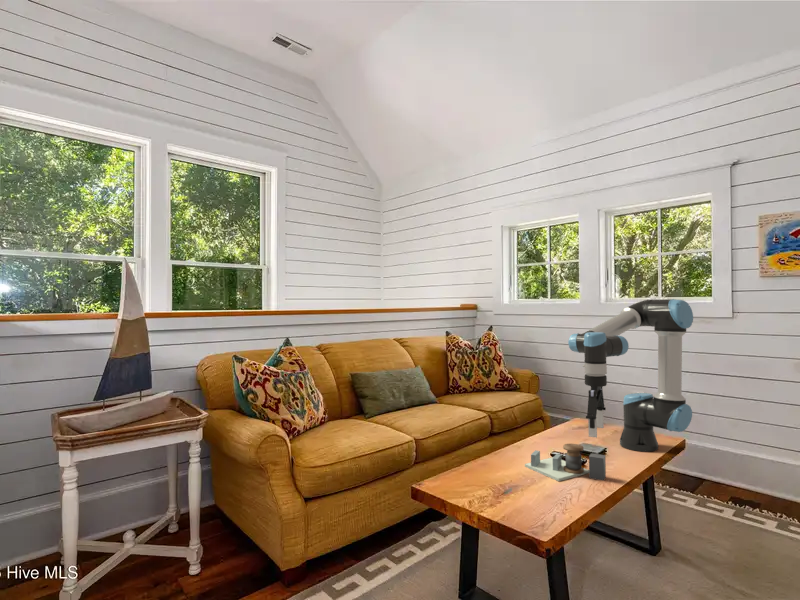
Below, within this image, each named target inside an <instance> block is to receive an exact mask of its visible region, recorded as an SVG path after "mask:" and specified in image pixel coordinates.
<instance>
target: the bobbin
mask: <svg viewBox="0 0 800 600" xmlns="http://www.w3.org/2000/svg"><path fill="white" fill-rule="evenodd" d="M562 446H563V447H562V448H563V450H565V451H566V452H565V461H566V466H564V471H566V472H568V473H572V474H581V473H583V472H584V467H583V466H582V454H581V453H580V452H583V451H584V446H583V445H581V444H577V443H565V444H563V445H562Z"/></svg>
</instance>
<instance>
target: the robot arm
mask: <svg viewBox="0 0 800 600" xmlns="http://www.w3.org/2000/svg"><path fill="white" fill-rule="evenodd" d="M693 322H694V313H693V310H692V307H691V306H690V304H689V303H688V302H687V301H686V300H683V299H674V298H673V299H669V298H668V299H644V300H641V301H639V302H636V303H635V302H634V303H633V304H630V305H628V306H627V307H625V308H623V309H622V310H621V311H620V313H619V314H616V315H615V316H613V317H611V318H609V319H607V320H605V321H604V322H602V323H600V324H598V325H596V326H594V327H593V328H591V329H589V330H587V331H585V332H583V333H579V332H578V333H573V334H571V335H570V336H569V338H568V340H567V343H568V348H569V349H570V350H571V352H574V353H580V354H584V364H582V367H583V368H584V374H585V375H584V384H585V385H586V386H587V387H590V389H588V399H587V400H588V402H587V411H586V412H587V413H586V414H587V415H585V418H586V419H587V421H588V423H587V425H588V426H587V427H588V429H587V431H588V437H590V438H596V439H597V438H598V428H599V429H603V428H605V427H604V420H605V419H604V411H606V407H605V401H604V392H603V389H604V387H606V386H607V385H608V378H607V377H608V376H607V375H606V374H607V373H608V371H607V369H608V367H607V365H608V364H607V358H608V357H619V356H623V355H625V354H626V353H627V352H628V350H629V348H630V347H629V342H628V340H627V339H626V337H624V336H622V335H623V333H625V332H627V331H629V330H634V329H638V328H639V327H654V328H653V329H654V333H656V334H657V335H658V339H657V340H658V342H657V344H658V345H657V351H658V352H657V353H658V354H657V392H656V393H655V394H654V395H653V394H652V393H647V392H646V393H645V392H643V393H642V392H639V393H637V392H636V393H628V394H625V395H624V397H623V403H622V406H623V429H622V431H621V435H620V438H619V445H620V447H622V448H624V449H627V450H631V451H635V452H636V451H637V452H655V451H657V450H658V449H659V442H658V439H657V436H656V434H655V431H654V427H655V428H659V429H663V430H668V431H669V432H676V433H677V432H678V433H682V432H684V431H685V430H686V429H687V428H688V427H689V426H690V424H691V422H692V418H693V410H692V408H691V407H692V406H691V405H689V404H687V402H686V399H687V398H685V396H684V395H683V394H682V385H683V383H682V382H683V381H682V377H683V375H682V371H683V367H682V364H683V356H682V355H683V337H684V335H685V334H687V329H689V328H691V327H692V325H693Z"/></svg>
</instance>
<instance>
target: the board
mask: <svg viewBox="0 0 800 600" xmlns="http://www.w3.org/2000/svg"><path fill="white" fill-rule="evenodd" d="M553 457H554V456H552V457H548V458H544V459H540V463H539V464H538V465H537V466H536V467H533V466H531V462H528V463H524V467H525V468H527V469H529V470H532V471H534V472H537V473H539V474H541V475H543V476H545V477H547V478H550V479H552V480H555V481H557V482H561V481H565V480H568V479H572V478H576V477H579V476H583V475H587V474H589V469H587V468H584V467H583V468H584V472H583V473H581V474H572V473H568V472H566V471H564V466H566V460H564V459H561V463H562V466H561V467H560V469H559V470H558V471H555V470H553Z"/></svg>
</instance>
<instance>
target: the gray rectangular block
mask: <svg viewBox="0 0 800 600" xmlns="http://www.w3.org/2000/svg"><path fill="white" fill-rule="evenodd" d="M606 460H607V459H606V455H605V454H599V453H591V452H590V454H589V455H588V470H589V473H588V475H589V476H588V477H589V479H593V480H597V481H605V480H606V477H607V474H606V473H607V471H606V466H607V465H606Z"/></svg>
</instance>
